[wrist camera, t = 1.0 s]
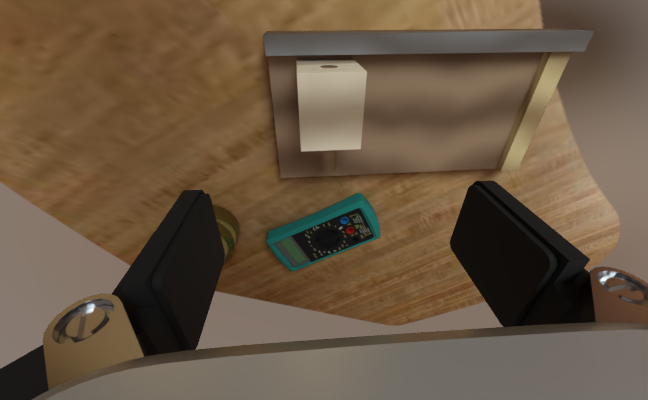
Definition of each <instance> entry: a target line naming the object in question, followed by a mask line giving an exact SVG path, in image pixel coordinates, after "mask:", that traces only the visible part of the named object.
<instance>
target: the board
mask: <svg viewBox="0 0 648 400" xmlns="http://www.w3.org/2000/svg"><path fill="white" fill-rule="evenodd" d="M593 33H594V32H593V31H583V30H571V29H472V30H357V31H267V32H266V33H264V34H263V38H264V47H265V55H266V56H267V57H268V66H269V75H270V84H271V94H272V103H273V112H274V121H275V130H276V139H277V149H278V158H279V167H280V176H281V178H297V177H319V176H341V175H364V174H386V173H408V172H431V171H453V170H476V169H497V170H499V171H500V172H509V171H517V169H518V167H519V165H520V163H521V161H522V159H523V156H524V154H525V152H526V150H527V148H528V146H529V144H530V141H531V139H532V137H533V135H534V133H535V131H536V128H537V126H538V124H539V122H540V120H541V118H542V116H543V113H544V111H545V109H546V107H547V105H548V103H549V100H550V98H551V96H552V94H553V92H554V90H555V88H556V85H557V83H558V81H559V79H560V77H561V75H562V72H563V70H564V68H565V66H566V64H567V62H568V60H569V57H570V55H571V53H572V51H585V49H586V47H587V45H588V43H589V41H590V39H591V37H592V35H593ZM297 59H354V60H355V61H356V62H357V63H358V64H359V65H360V66H361V67H363V68H364V69H365V70H366V71H367V78H366V91H365V103H364V115H363V127H362V139H361V149H354V150H336V170H335V171H334V172H332V173H325V172H323V171H321V151H302V152H301V141H300V123H299V105H298V87H297Z"/></svg>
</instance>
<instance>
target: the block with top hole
mask: <svg viewBox="0 0 648 400" xmlns="http://www.w3.org/2000/svg"><path fill="white" fill-rule="evenodd" d="M366 78H367V71H366V70H365V69H364V68H363V67H361V66H360V65H359V64H358V63H357V62H356V61H355V60H354V59H297V87H298V105H299V123H300V141H301V152H302V151H321V171H323V172H325V173H332V172H334V171H335V170H336V150H354V149H361V139H362V127H363V115H364V103H365V91H366Z"/></svg>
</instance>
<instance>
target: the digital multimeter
mask: <svg viewBox="0 0 648 400" xmlns="http://www.w3.org/2000/svg"><path fill="white" fill-rule="evenodd" d="M337 216H338V217H337ZM325 221H326V222H325ZM313 226H314V227H313ZM301 231H302V232H301ZM294 234H295V235H294ZM340 234H341V235H340ZM379 237H380V227H379V223H378V220H377V217H376V214H375V212H374V210H373V208H372V206H371V205H370V203H369V202H368V201H367V200H366V198H365V197H364V196H363V195H362V194H361V193H357V194H355V195H353V196H351V197H349V198H347V199H345V200H343V201H341V202H339V203H336V204H334V205H332V206H330V207H327V208H325V209H323V210H321V211H319V212H316V213H314V214H311V215H309V216H307V217H304V218H302V219H299V220H297V221H295V222H292V223H289V224H287V225H284V226H281V227H279V228H276V229H273V230H271V231H269V232H268V233H267V240H266V243H267V244H268V246H269V247H270V249H271V250H272V252H273V253H274V254H275V256H276V257H277V258H278V259H279V260H280V261H281V262H282V263H283V264H284V265H285V266H286V267H287V268H288V269H289V270H290V271H296V270H298V269H301V268H303V267H305V266H308V265H310V264H313V263H315V262H318V261H320V260H323V259H325V258H328V257H330V256H333V255H335V254H338V253H340V252H343V251H346V250H348V249H351V248H354V247H356V246H359V245H362V244H364V243H367V242H370V241H372V240H375V239H378V238H379ZM313 242H314V243H313ZM314 244H315V245H314ZM316 246H317V247H316Z"/></svg>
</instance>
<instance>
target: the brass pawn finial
mask: <svg viewBox="0 0 648 400" xmlns="http://www.w3.org/2000/svg"><path fill="white" fill-rule="evenodd" d="M213 209H214V213H215V217H216V220H217V224H218V228H219V232H220V236H221V239H222V243H223V247H224V251H225V259H224V263H223V265H225V264H226V263H228V262H229V261H230V260H231V259H232V257H233V255H234V252H235V246H236V244H237V240H238V234H239V224H238V221H237V220H236V218H235V217H234V216H233V215H232V214H231V213H230V212H229V211H227V210H225V209H223V208H221V207H218V206H214V205H213Z"/></svg>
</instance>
